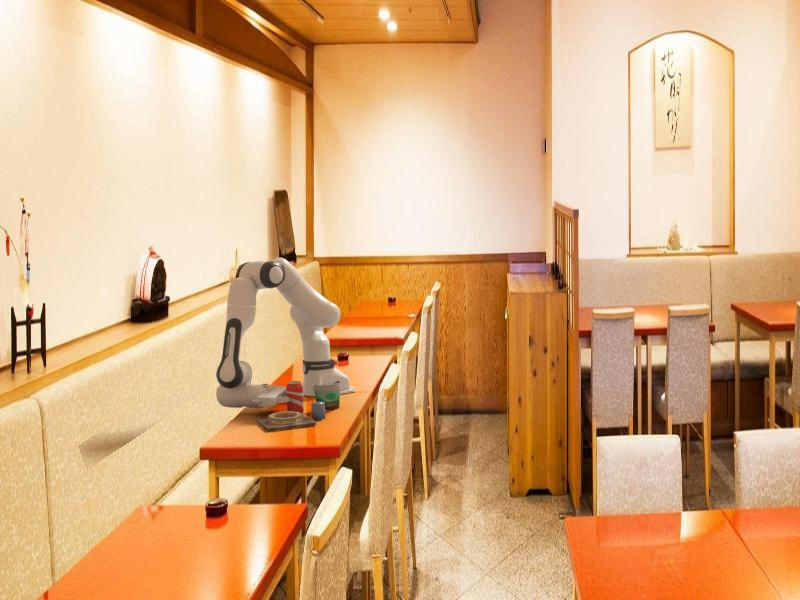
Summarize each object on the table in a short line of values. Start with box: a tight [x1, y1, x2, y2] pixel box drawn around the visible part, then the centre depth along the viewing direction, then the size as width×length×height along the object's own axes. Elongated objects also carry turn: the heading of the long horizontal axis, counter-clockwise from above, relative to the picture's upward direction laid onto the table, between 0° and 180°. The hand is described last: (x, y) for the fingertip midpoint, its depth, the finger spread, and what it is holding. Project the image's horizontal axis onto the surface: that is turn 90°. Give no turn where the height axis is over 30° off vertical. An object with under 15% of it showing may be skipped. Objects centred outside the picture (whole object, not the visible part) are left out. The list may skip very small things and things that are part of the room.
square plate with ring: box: [254, 410, 317, 433], centre depth 366 cm, size 18×18×3 cm
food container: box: [313, 380, 342, 411], centre depth 387 cm, size 12×6×10 cm, turn 129°
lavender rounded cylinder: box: [310, 401, 326, 421], centre depth 372 cm, size 5×5×6 cm
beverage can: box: [286, 380, 305, 413], centre depth 381 cm, size 6×6×12 cm
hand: (293, 396), depth 381 cm, fingers open, 8 cm apart
